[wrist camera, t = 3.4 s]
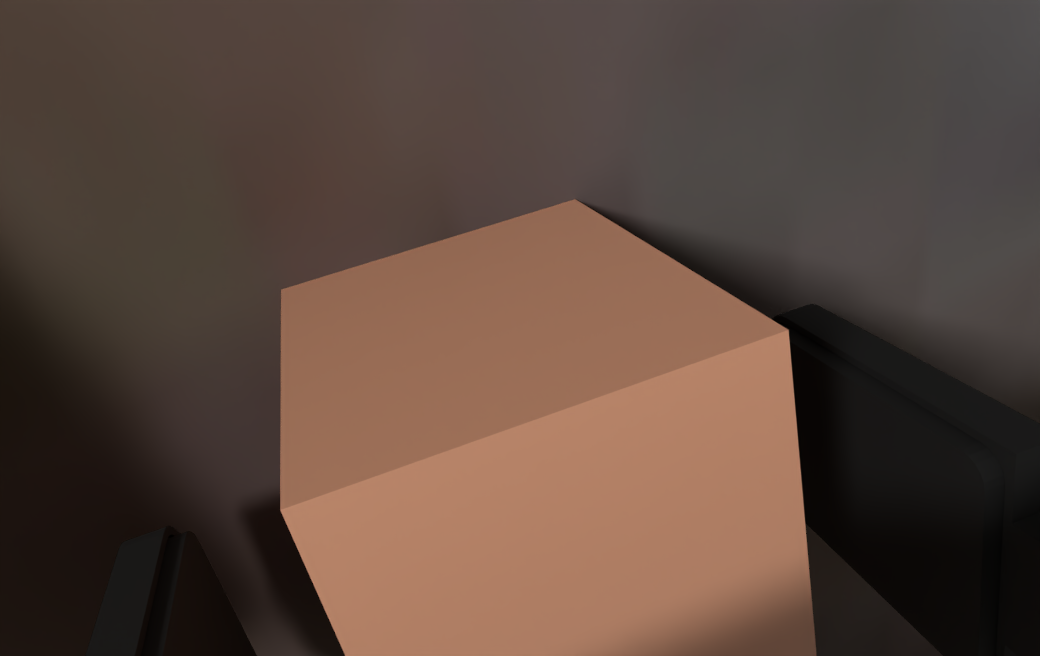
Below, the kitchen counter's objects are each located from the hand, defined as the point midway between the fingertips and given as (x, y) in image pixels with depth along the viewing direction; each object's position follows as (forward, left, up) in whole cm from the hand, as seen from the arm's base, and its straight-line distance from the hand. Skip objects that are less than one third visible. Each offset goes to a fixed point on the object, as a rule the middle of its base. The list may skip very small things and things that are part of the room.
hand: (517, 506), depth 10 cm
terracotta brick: (0, 0, -1) cm, 1 cm away
